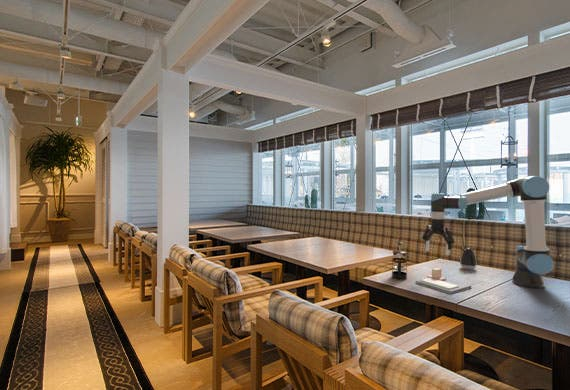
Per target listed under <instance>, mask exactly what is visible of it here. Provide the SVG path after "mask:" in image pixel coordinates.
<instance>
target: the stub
mask: <svg viewBox="0 0 570 390" xmlns="http://www.w3.org/2000/svg"><path fill="white" fill-rule="evenodd" d="M442 271H443V270H442V268H439V267H434V268H431V274H429V275H427V276H426V278H434V279H438V280H440V281H442V280H446V279H447V277H443V276H442Z"/></svg>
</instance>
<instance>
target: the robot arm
mask: <svg viewBox="0 0 570 390" xmlns="http://www.w3.org/2000/svg"><path fill="white" fill-rule="evenodd" d="M549 191H550V183H549V182H548V181H547V180H546V179H545V178H544V177H542V176H538V175H529V176H523V177H519V178H516V179H513V180H510V181H506V183H503V184H499V185H495V186H492V187H491V186H490V187H487V188H482V189H478V190H473V191H468V192H464V193H463V192H462V193H460V194H455V195H449V196H446V194H445V193H441V192H440V193H439V192H437V193H436V192H434V193H432V194H431V197H430V217H431V219H430V224H431V225H430V224H427V225H426V229H425V230H424V233H423V235H422V237H421V239H422V240H424V246H425V251H426V252H430V249H431V247H430V245H431V242H430V239H431V237H433V235H434V234H435V235H436V234H437V235H441V237H442V238H443V239H444V241H445V242H446V244H445V250H446V251H445V253H446V254H445V255H446V256H449V255H450V256H451V250H452V245H453V244H455V240H454V237H453V234H452V233H451V230H450V226H449V227H448V226H447V227H445V217H446V216H445V214H446V213H445V212H446V211H445V210H466V209H467V208H468V205H472V204H477V203H482V202H488V201H491V200H498V199H501V198H506V197H507V198H508V197H510V198H515V197H520V201H521V202H522V203H523V208H524V222H525V224H524V225H525V239H526V240H525V242H526V245H518V246H517V247H516V250H515V252H516V254H515V255H516V257H515V260H516V262H515V272H514V274H513V276H512V277H511V282H512V284H514V285H516V286H520V287H525V288H530V289H531V288H533V289H542V288H544V286H545V285H544V284H545V283H544V279H543V277H542V275H546V274H549V273H550V272H552V271H553V268H554V267H555V263H554V260H553V258H552V257H551V251H550V250H551V249H550V248H549V247H548V246H547V243H546V242H547V241H546V224H545V223H546V222H545V208H544V207H545V205H544V203H545V202H546V201H547V199H548V198H547V194H548V192H549Z"/></svg>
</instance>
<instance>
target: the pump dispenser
mask: <svg viewBox="0 0 570 390" xmlns="http://www.w3.org/2000/svg"><path fill="white" fill-rule="evenodd" d="M460 250H461V252H462V254H461V255H460V260H459V264H460V266H461V268H462V269H464V270H467V271H473V270H475V269H476V267H477V264H478V263H477V258H476V255H475V254H476V253H475V252H474V250H473V249H472V248H470V247H466V248H464V249H463V248H462V249H460Z"/></svg>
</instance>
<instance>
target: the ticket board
mask: <svg viewBox="0 0 570 390" xmlns="http://www.w3.org/2000/svg"><path fill="white" fill-rule="evenodd" d="M415 284H417V285H419V286H424V287H427V288H429V289H434V290H437V291H439V292H444V293H446V294H449V295H452V294H455V293H460V292H464V291H467V290H470V289H472V285H471V284H467V283H463V282H460V281H459V282H458V281H455V280H451V279H448V278H446V280H442V281H440V280H438V279H434V278H428V277H426V278H423V279H418V280H415Z"/></svg>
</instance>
